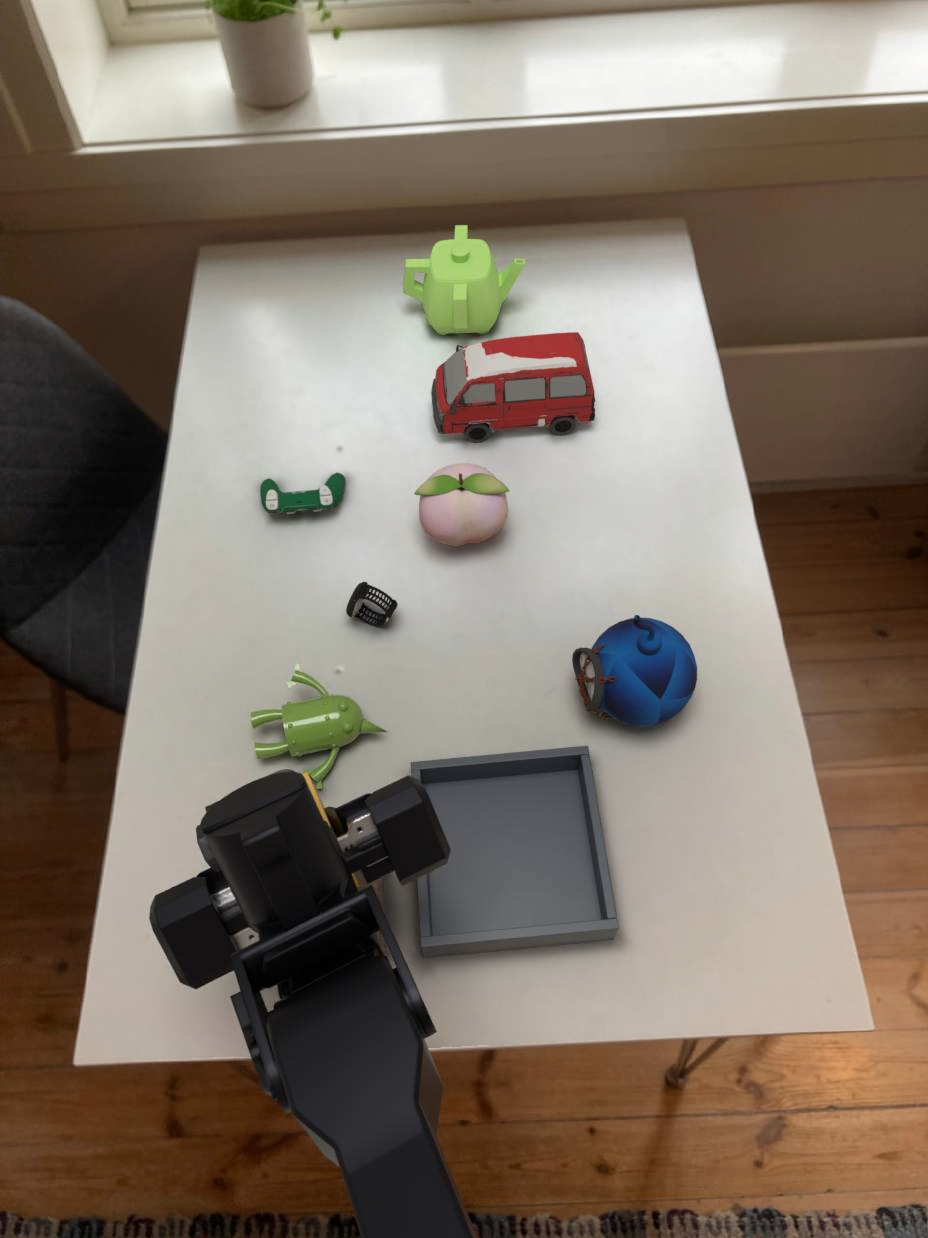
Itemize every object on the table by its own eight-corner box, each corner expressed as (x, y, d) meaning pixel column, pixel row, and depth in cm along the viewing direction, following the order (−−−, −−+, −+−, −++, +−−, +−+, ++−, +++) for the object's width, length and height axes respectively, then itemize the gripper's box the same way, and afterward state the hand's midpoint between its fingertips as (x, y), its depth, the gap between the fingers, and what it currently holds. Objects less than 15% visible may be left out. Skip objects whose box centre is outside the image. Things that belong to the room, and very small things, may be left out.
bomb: (559, 664, 88) (569, 578, 75) (667, 642, 89) (694, 553, 76) (588, 756, 83) (603, 680, 70) (701, 731, 84) (737, 652, 71)
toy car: (433, 391, 108) (427, 324, 100) (589, 387, 107) (596, 319, 99) (432, 448, 103) (425, 383, 95) (594, 445, 103) (602, 379, 94)
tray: (613, 940, 75) (619, 928, 71) (424, 958, 75) (420, 947, 71) (584, 763, 83) (588, 745, 79) (414, 779, 83) (410, 761, 79)
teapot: (462, 361, 110) (459, 295, 102) (398, 318, 115) (390, 251, 107) (528, 313, 115) (530, 245, 106) (463, 273, 119) (460, 205, 111)
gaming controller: (266, 512, 102) (256, 519, 96) (262, 478, 101) (251, 483, 95) (349, 505, 102) (344, 512, 96) (345, 470, 101) (339, 475, 95)
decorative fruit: (500, 497, 99) (499, 433, 91) (513, 557, 95) (515, 496, 87) (415, 509, 99) (406, 447, 90) (425, 571, 95) (417, 511, 86)
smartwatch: (371, 594, 93) (365, 566, 89) (405, 624, 91) (400, 597, 87) (341, 618, 92) (333, 591, 88) (374, 649, 90) (368, 623, 86)
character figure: (237, 672, 81) (370, 645, 82) (248, 676, 86) (373, 651, 87) (261, 802, 79) (395, 773, 80) (270, 799, 85) (397, 772, 85)
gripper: (418, 743, 52) (367, 681, 67) (98, 892, 48) (120, 792, 63) (484, 904, 55) (421, 810, 69) (187, 1057, 51) (187, 923, 66)
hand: (291, 830), depth 67 cm, fingers closed on puzzle block, 5 cm apart
